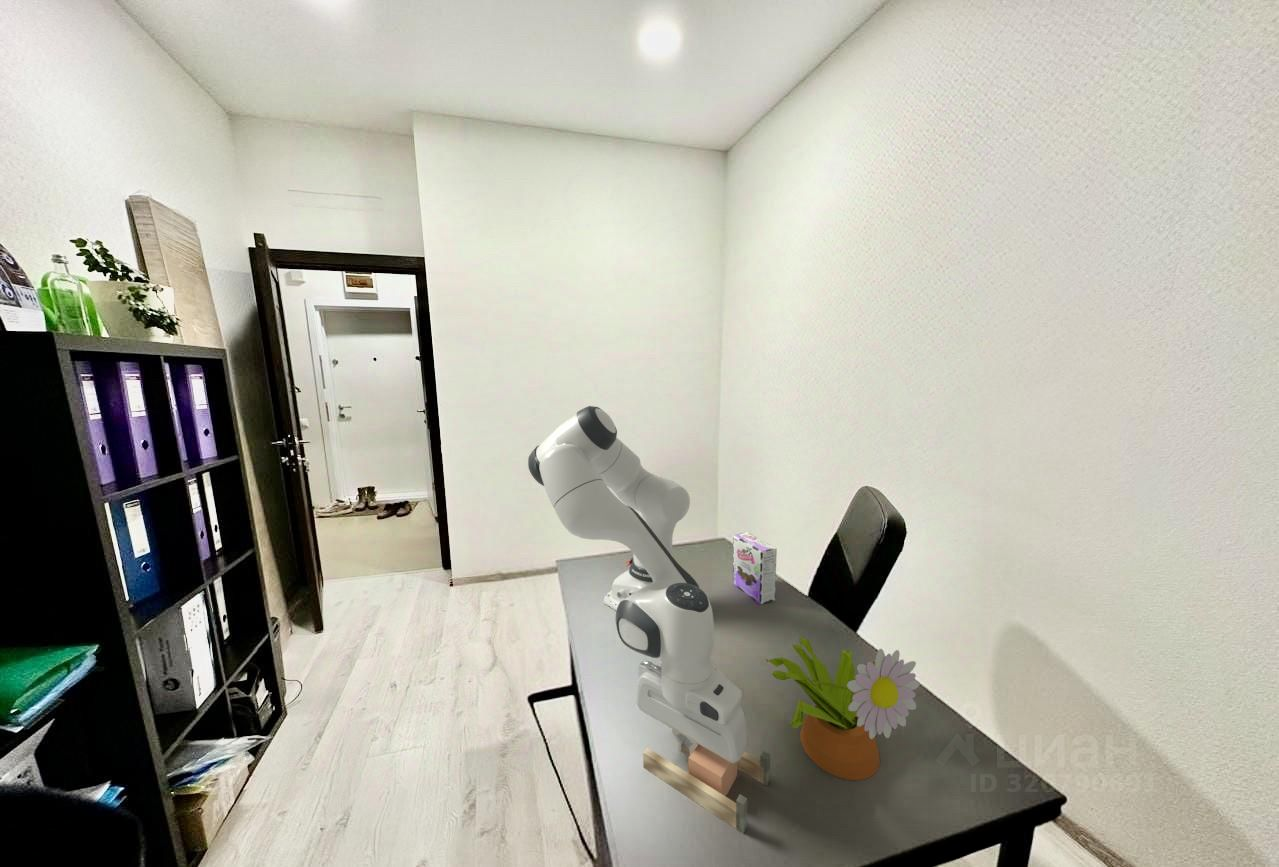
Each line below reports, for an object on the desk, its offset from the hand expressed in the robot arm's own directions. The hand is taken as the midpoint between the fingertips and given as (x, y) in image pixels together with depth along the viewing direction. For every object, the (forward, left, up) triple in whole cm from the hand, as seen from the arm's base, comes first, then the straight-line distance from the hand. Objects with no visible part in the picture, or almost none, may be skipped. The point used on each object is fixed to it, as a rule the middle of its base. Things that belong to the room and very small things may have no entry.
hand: (687, 752), depth 76 cm
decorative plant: (+20, +21, -3) cm, 29 cm away
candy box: (-14, +62, -3) cm, 64 cm away
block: (+5, 0, -3) cm, 6 cm away
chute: (+3, 0, -3) cm, 4 cm away
